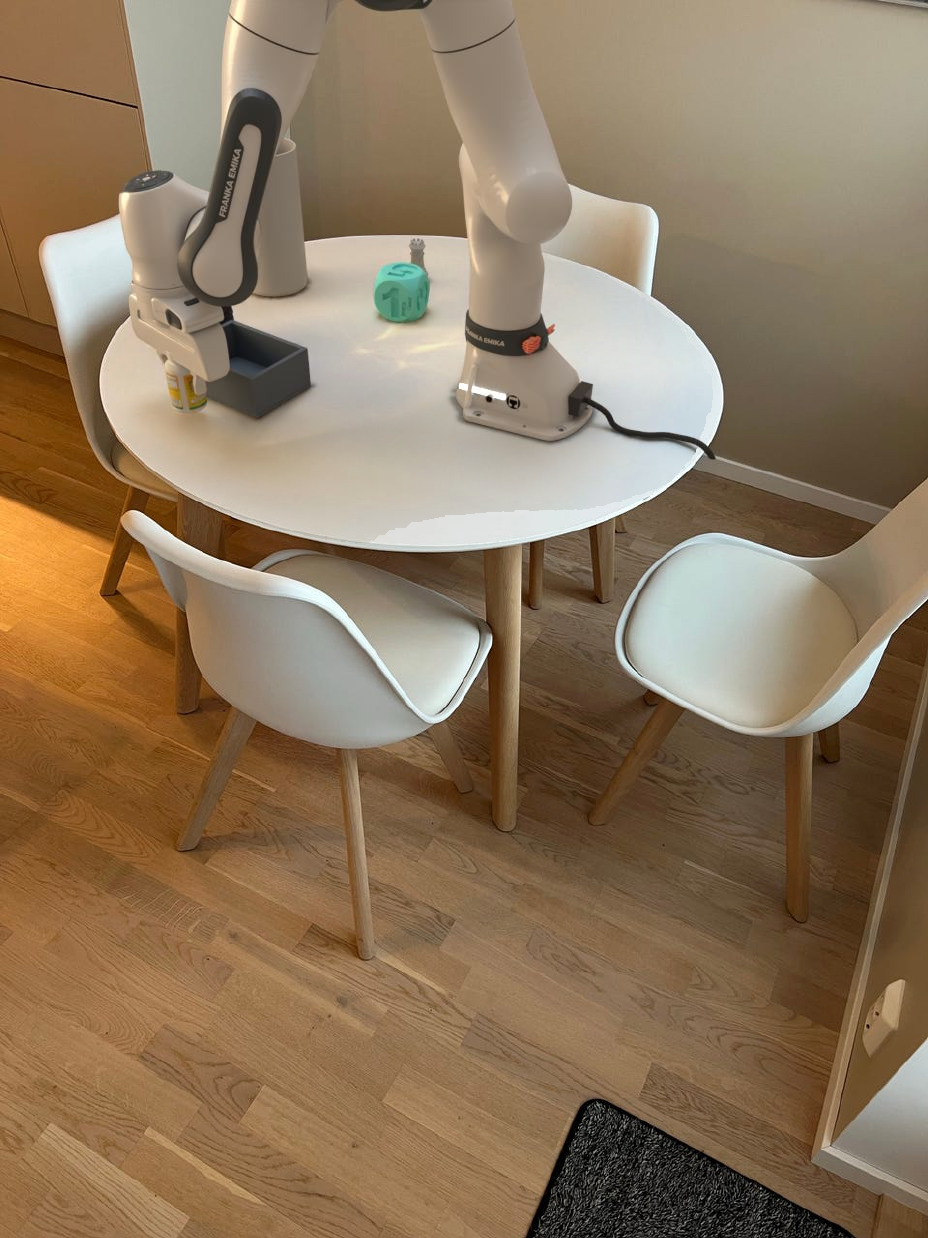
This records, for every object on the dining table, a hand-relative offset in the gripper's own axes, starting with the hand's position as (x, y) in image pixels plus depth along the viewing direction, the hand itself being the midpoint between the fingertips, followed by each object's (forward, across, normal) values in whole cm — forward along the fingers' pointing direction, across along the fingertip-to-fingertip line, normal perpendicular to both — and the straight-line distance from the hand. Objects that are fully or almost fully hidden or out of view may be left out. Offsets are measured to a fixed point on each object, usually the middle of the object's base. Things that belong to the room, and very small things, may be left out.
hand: (186, 384), depth 140 cm
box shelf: (+6, -2, +12) cm, 13 cm away
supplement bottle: (+4, 0, 0) cm, 4 cm away
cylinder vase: (+6, -30, +39) cm, 50 cm away
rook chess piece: (+6, -13, +61) cm, 62 cm away
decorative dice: (+6, -4, +49) cm, 50 cm away
